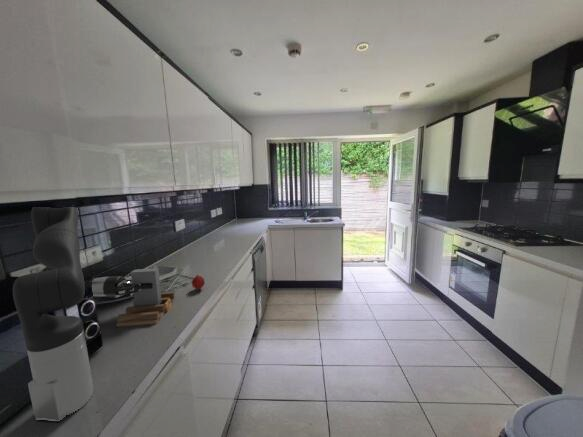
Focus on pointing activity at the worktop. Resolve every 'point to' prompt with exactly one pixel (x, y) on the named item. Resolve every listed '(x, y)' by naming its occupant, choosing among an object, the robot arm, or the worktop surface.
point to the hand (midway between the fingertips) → (153, 283)
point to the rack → (146, 312)
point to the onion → (198, 282)
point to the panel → (147, 295)
